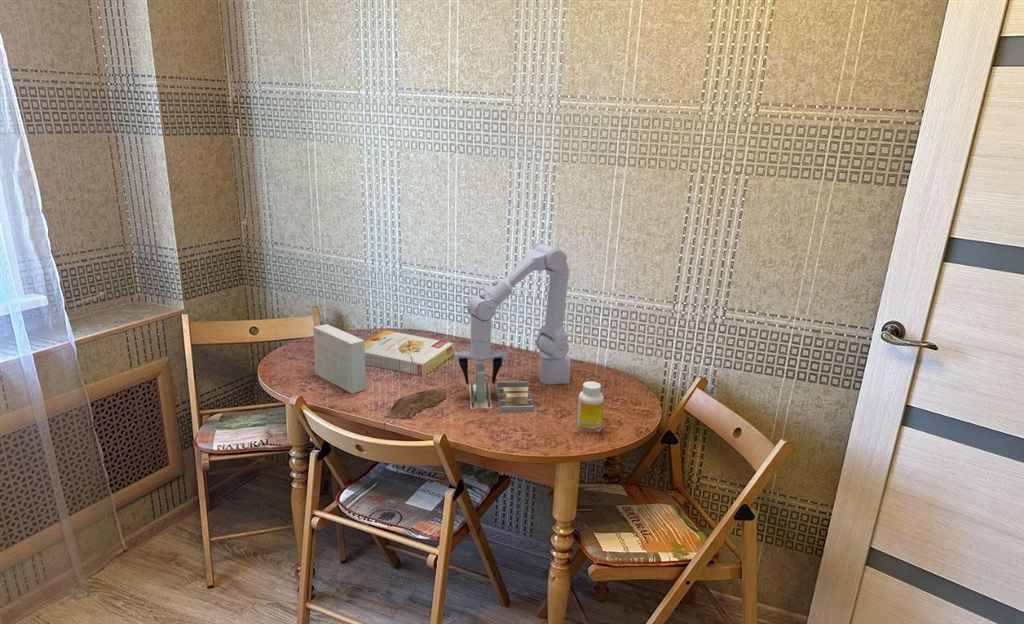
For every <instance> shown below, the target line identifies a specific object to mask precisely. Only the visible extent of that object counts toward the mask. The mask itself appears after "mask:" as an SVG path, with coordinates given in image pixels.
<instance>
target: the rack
mask: <svg viewBox="0 0 1024 624" xmlns="http://www.w3.org/2000/svg"><path fill="white" fill-rule="evenodd" d="M494 384H495V391H496V396H497V404H498V412H499V413H527V412H528V413H531V412H532V413H536V409H535V405H534V402H533V399H532V394H531V390H530V387H529V383H528V381H527V380H526V381H525V380H522V381H521V380H518V381H511V380H510V381H497V383H494ZM503 387H528V406H506V400H503Z"/></svg>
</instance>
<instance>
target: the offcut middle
mask: <svg viewBox="0 0 1024 624" xmlns="http://www.w3.org/2000/svg"><path fill="white" fill-rule="evenodd" d="M506 393H527V394H528V387H503V400H506Z"/></svg>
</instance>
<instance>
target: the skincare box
mask: <svg viewBox="0 0 1024 624" xmlns="http://www.w3.org/2000/svg"><path fill="white" fill-rule="evenodd" d="M312 328H313V348H314V349H313V351H314V352H313V353H314V355H313V356H314V372H315V373H314V374H315V375H316V376H317V377H320V378H322V379H324V380H325V381H328V382H329V383H331V384H333V385H335V386H337V387H339V388H341V389H342V390H344V391H346V392H348V393H350V394H352V395H354V394H356V393H359V392H362V391H365V390H367V388H366V364H365V344H364V342H365V340H364V339H362V338H360V337H358V336H355V335H353V334H351V333H348V332H346V331H344V330H341V329H339V328H337V327H334V326H332V325H330V324H328V323H326V324H321V325H316V326H313V327H312Z"/></svg>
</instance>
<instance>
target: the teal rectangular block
mask: <svg viewBox="0 0 1024 624" xmlns="http://www.w3.org/2000/svg"><path fill="white" fill-rule="evenodd" d="M475 363H476V364H475V365H476V366H475V367H476V368H475V370H476V373H475V375H476V377H475V378H476V380H475V383H476V384H475V385H476V394H477V402H484V384H485V368H484V367H485V365H484V362H475Z"/></svg>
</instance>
